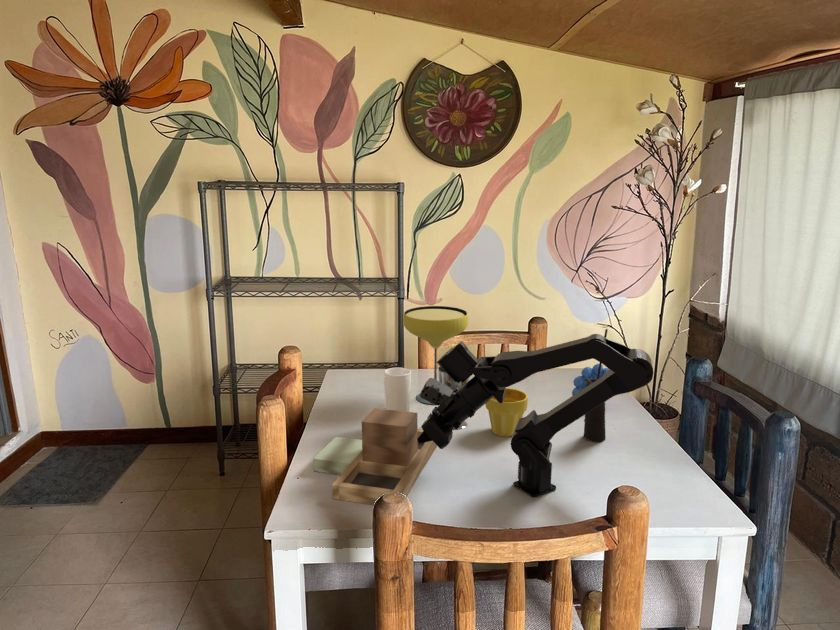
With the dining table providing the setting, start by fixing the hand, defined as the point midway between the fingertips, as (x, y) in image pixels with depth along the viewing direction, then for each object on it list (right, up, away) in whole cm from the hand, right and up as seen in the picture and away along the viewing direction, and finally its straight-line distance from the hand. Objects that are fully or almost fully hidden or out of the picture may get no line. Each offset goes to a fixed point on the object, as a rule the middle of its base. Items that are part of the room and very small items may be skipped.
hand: (418, 440), depth 139 cm
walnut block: (-6, -4, +3) cm, 8 cm away
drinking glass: (-5, -2, +25) cm, 26 cm away
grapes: (+48, +2, +41) cm, 63 cm away
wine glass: (+9, -1, +27) cm, 29 cm away
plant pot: (+22, -2, +23) cm, 32 cm away
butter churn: (+42, -3, +20) cm, 46 cm away
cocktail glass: (+5, +3, +46) cm, 46 cm away
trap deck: (-11, -6, +5) cm, 13 cm away
